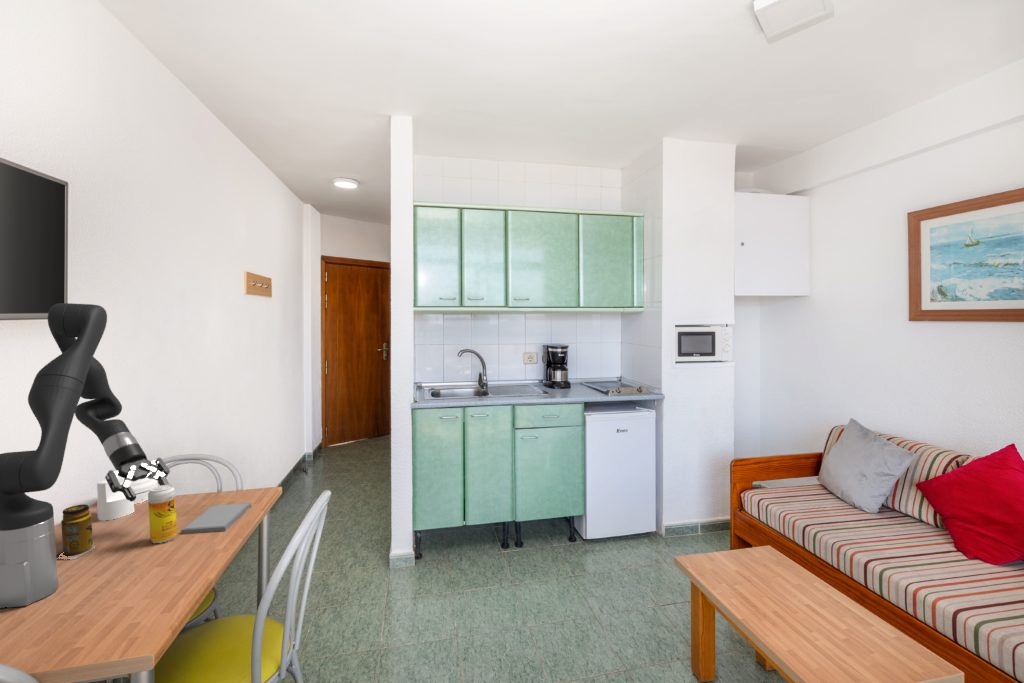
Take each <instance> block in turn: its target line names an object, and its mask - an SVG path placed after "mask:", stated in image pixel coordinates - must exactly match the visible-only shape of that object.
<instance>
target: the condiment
mask: <svg viewBox="0 0 1024 683" xmlns="http://www.w3.org/2000/svg"><path fill="white" fill-rule="evenodd" d="M90 512H91V511H90V506H89V504H76V505H72V506H68V507H67V508H64V509H63V510H62V520H61V521H60V522H61V540H62V544H61V545H62V551H60V552H58V553H56V559H57V558H58V557H59V555H60V554H61V553H63V552H64V553H63V555H65V556H67V559H70V560H76V559H77V558H80V557H81V556H83V555H85V554H87V553H88V552H91V551H92V550H94V549H96V548H95V547H93V544H94V541H93V540H94V538H93V535H94V534H93V524H92V521H93V520H92V519H93V518H92V514H91V513H90ZM93 548H94V549H93ZM90 549H91V550H90ZM68 556H73V557H69V558H68ZM60 557H62V556H60ZM58 559H59V558H58ZM60 559H61V558H60ZM67 559H66V561H68V560H67ZM63 561H65V559H64V560H63Z"/></svg>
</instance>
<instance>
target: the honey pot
mask: <svg viewBox="0 0 1024 683" xmlns="http://www.w3.org/2000/svg"><path fill="white" fill-rule="evenodd" d="M114 471H117V470H116V469H115V470H114ZM149 474H152V472H149ZM131 485H132V490H133V491H134V493H135V495H136V499H135V500H134V504H136V505H138V504H137V503H140V504H143V503H142V502H144V501H146V500H148V493H149V491H150V489H151V488H154V487H157V486H159V483H158V481H157V480H155V479H149V478H147V477H146V478H144V479H138V480H137V481H131ZM142 499H143V500H142ZM144 503H145V502H144Z"/></svg>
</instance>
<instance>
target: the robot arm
mask: <svg viewBox="0 0 1024 683" xmlns="http://www.w3.org/2000/svg"><path fill="white" fill-rule="evenodd" d="M107 313H108V312H107V310H106V309H105V308H104V307H103V306H101V305H98V304H93V303H91V304H90V303H89V304H88V303H67V302H66V303H64V302H63V303H62V302H61V303H58V302H57V303H55V304H53V305H52V306H51V307H50V309H49V310H48V313H47V325H48V328H49V331H50V333H51V336H52V337H53V339H54V341H55V344H57V346H58V348H59V351H60V352H61V354H59V355H57V357H55V358H54V359H52V360H51V361H49V362H48V363H47V364H45V365H44V366H43V367H42V368H40V370H39V371H38V372H37V374H35V377H34V379H33V383H32V384H31V387H30V389H29V393H28V396H27V402H28V405H29V408H30V410H31V412H32V414H33V415H34V417H35V419H36V420H37V422H38V425H39V427H40V430H41V434H40V435H41V436H40V439H39V440H40V441H39V444H38V446H37V448H36V449H35V450H24V451H23V450H22V451H12V452H3V453H0V609H5V607H7V608H15V607H16V608H17V607H19V608H20V607H27V606H29V605H30V604H33V603H35V602H37V601H40V600H42V599H44V598H47V597H48V596H50V595H52V594H54V593H55V592H56V591H57V590H58V588H59V578H58V577H59V576H58V575H59V574H58V560H57V559H56V554H57V545H56V532H55V531H56V530H55V529H56V528H55V518H54V517H55V514H54V513H55V512H54V506H53V505H52V503H51V502H48V501H43V500H39V499H36V498H32V497H31V496H29V495H27V494H26V493H34V492H35V493H36V492H41V491H46V490H49V489H51V488H52V487H53V486H54V485H55V484H56V482H57V480H58V478H59V476H60V473H61V470H62V468H63V467H62V466H63V462H64V457H65V454H66V453H65V452H66V448H67V443H68V437H69V434H70V429H71V426H72V423H73V419H74V416H75V418H76V419H77V421H78V422H80V423H81V424H82V425H83V426H84V427H86V428H87V429H88V430H90V431H91V432H92V433H94V435H96V437H97V438H98V440H99V442H100V444H101V445H102V447H103V449H104V452H105V454H106V457H108V459H109V461H110V462H111V464H112V466H113V467H114V469H115V470H117V471H115V470H112V469H111V470H108V471H107V473H106V475H105V477H104V478H105V480H107V482H108V484H109V487H110V489H111V491H112V492H113V493H116V492H117V491H121V492H123V494H124V496H125V497H126V499H127V500H128V501H129V500H130V501H131V502H132V501H134V500H135V499H136V495H135V493H134V491H133V490H132V488H131V486H130V487H129V484H130V481H137V480H138V479H144V478H146V477H147V478H149V479H155V480H157V481H158V486H161V485H170V482H169V481H168V479H167V477H168V475H169V474H170V472H171V470H170V468H169V467H168V465H166V463H165V461H163V459H162V458H161V457H157V458H156V459H155V460H152V461H150V460H149V458H147V454H146V453H145V452H144V450H143V448H142V446H141V445H140V443H139V442H138V439H136V437H135V436H134V435H133V434H132V432H131V431H130V429H129V427H128V426H127V424H126V423H125V422H124V421H123V420H122V419H119V418H116V417H117V416H119V415H120V414H121V412H122V409H123V406H122V404H121V401H120V400H119V399H118V398H117V396H116V395H115V394H114V392H113V391H112V389H111V387H110V384H109V379H108V376H107V371H106V370H105V368H104V366H103V364H102V363H101V362H100V361H99V360H97V359H96V357H94V355H95V353H96V351H97V349H98V346H99V344H100V342H101V340H102V338H103V337H104V336H103V335H104V333H105V330H106V327H107V322H108V314H107ZM81 398H82V399H85V400H86V401H84V402H81V403H79V401H80V400H81ZM113 418H116V419H113ZM149 472H152V474H149ZM117 476H120V477H123V478H125V479H124V482H123V484H122V485H120V483H119V481H118V479H117Z"/></svg>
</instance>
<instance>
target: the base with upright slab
mask: <svg viewBox="0 0 1024 683" xmlns="http://www.w3.org/2000/svg"><path fill="white" fill-rule="evenodd" d="M117 479H118V481H119V483H120V485H122V484H123V482H124V479H125V478H123V477H120V476H117ZM130 486H131V488H132V485H131V481H130V484H129V487H130ZM96 488H97V490H96V491H97V500H96V506H97V508H96V509H97V520H98V519H99V520H102V521H101V522H107V521H106V520H111V521H114V520H113V519H116V518H120V517H123V516H126V515H129V514H131V513H133V512H134V513H135V505H134V501H132V502H131V501H130V500H129V501H128V500H127V499H126V497H125V496H124V494H123V492H121V491H117V492H116V493H113V492H112V491H111V489H110V487H109V484H108V482H107V480H106V479H105V480H102V481H99V482H97V483H96ZM134 513H133V514H134ZM131 515H132V514H131ZM129 516H130V515H129ZM99 520H98V521H99Z"/></svg>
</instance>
